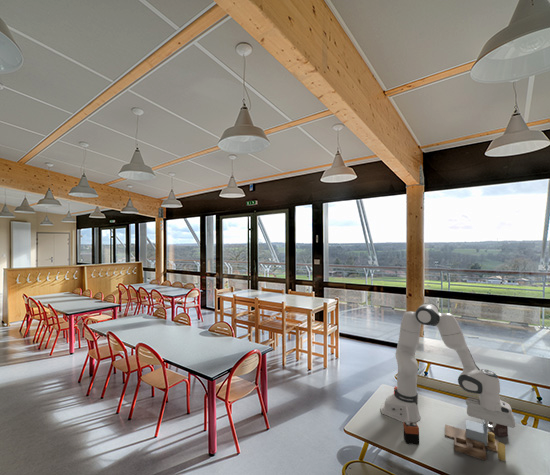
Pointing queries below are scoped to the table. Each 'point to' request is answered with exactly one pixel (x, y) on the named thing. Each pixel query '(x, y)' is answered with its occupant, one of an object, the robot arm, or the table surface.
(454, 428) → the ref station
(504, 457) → the pin
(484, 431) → the cover
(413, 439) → the battery
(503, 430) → the box
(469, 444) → the board
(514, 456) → the table surface
